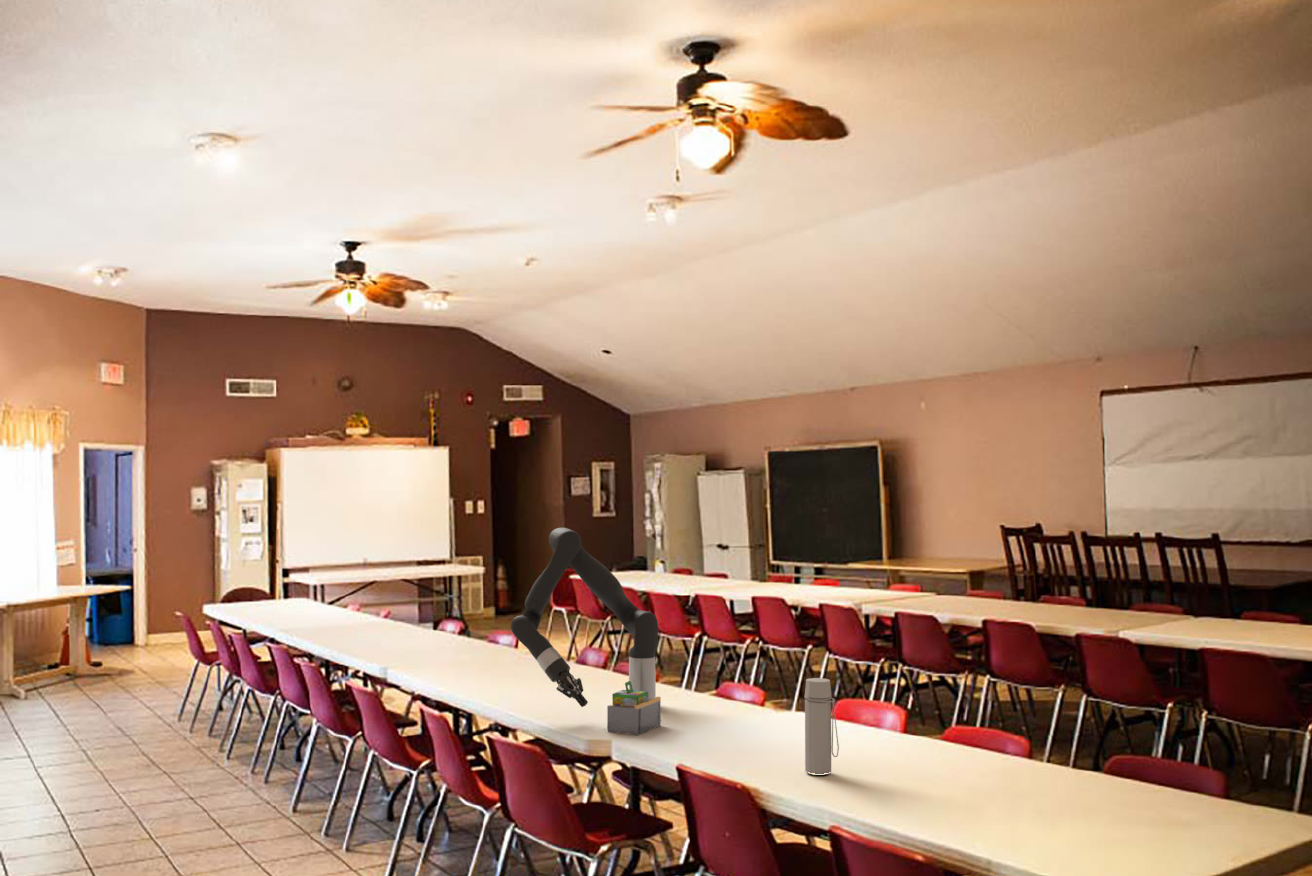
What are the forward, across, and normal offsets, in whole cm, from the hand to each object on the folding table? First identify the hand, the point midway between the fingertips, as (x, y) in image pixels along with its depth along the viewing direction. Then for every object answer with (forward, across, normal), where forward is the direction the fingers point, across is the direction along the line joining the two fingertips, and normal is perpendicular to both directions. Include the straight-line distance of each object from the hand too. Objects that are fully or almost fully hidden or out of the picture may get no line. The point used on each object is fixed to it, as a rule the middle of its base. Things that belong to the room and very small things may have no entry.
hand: (585, 705), depth 373 cm
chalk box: (+16, 0, -8) cm, 18 cm away
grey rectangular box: (+17, 0, -9) cm, 19 cm away
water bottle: (+67, -29, -59) cm, 94 cm away
